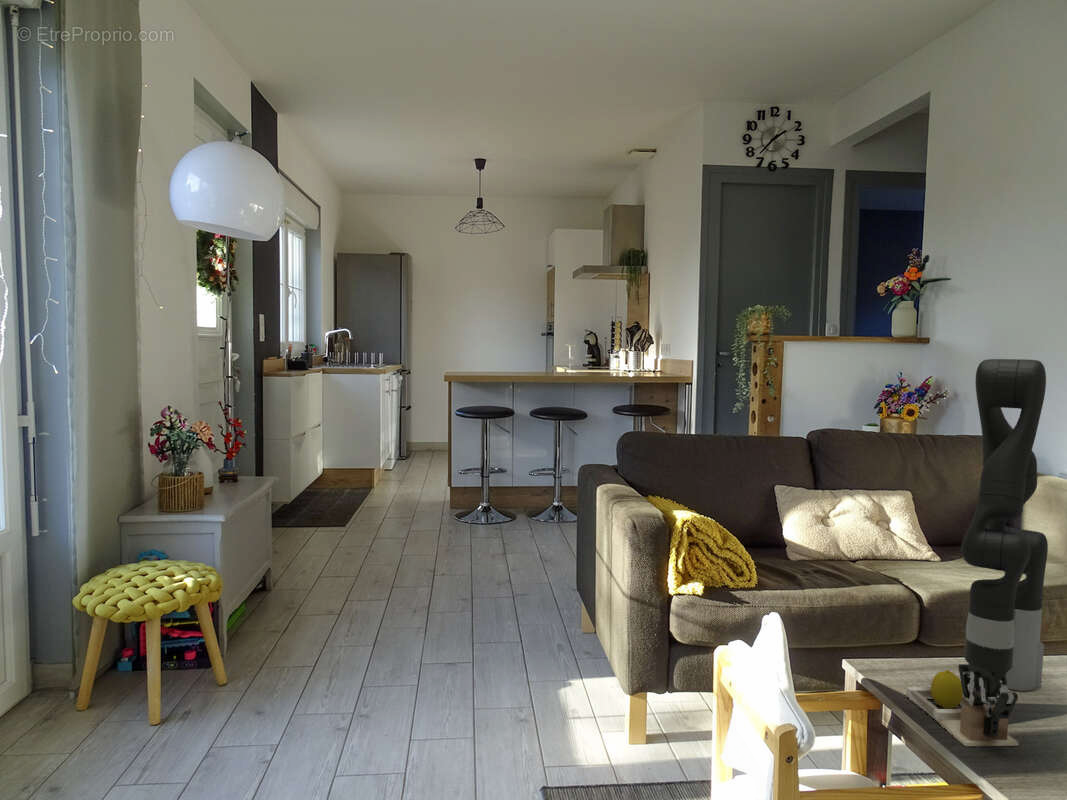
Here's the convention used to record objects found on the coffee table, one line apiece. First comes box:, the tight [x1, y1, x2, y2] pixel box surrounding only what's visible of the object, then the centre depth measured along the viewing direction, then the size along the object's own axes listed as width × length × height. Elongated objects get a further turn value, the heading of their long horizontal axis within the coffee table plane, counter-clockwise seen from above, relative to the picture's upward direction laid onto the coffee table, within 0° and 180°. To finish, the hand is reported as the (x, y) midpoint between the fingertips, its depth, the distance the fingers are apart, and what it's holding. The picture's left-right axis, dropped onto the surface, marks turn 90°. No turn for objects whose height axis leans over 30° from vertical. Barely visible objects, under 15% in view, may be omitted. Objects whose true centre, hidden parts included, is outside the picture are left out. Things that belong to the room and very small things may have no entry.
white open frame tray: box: [905, 686, 1020, 747], centre depth 148 cm, size 10×20×6 cm, turn 4°
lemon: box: [930, 669, 963, 709], centre depth 152 cm, size 6×6×8 cm
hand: (983, 730), depth 141 cm, fingers closed on white open frame tray, 3 cm apart
